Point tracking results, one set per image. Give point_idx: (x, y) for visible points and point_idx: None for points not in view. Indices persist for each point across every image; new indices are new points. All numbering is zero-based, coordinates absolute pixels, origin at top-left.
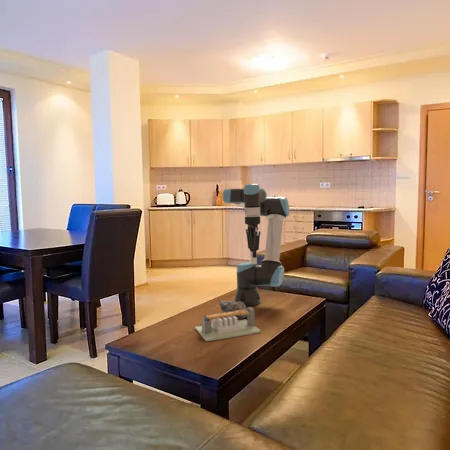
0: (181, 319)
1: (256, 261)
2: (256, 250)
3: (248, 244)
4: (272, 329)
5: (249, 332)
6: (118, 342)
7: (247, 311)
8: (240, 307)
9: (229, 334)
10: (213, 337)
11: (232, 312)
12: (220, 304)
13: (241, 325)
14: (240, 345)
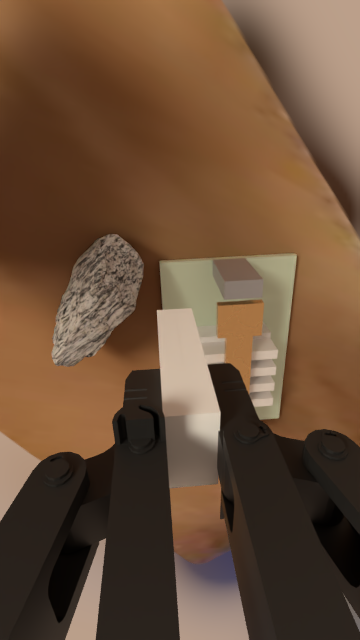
0: (69, 442)
1: (194, 324)
2: (290, 443)
3: (64, 611)
4: (288, 197)
5: (291, 296)
6: (190, 556)
7: (253, 305)
8: (134, 291)
9: (278, 357)
10: (277, 400)
11: (235, 360)
12: (77, 361)
13: (219, 300)
14: (350, 344)
